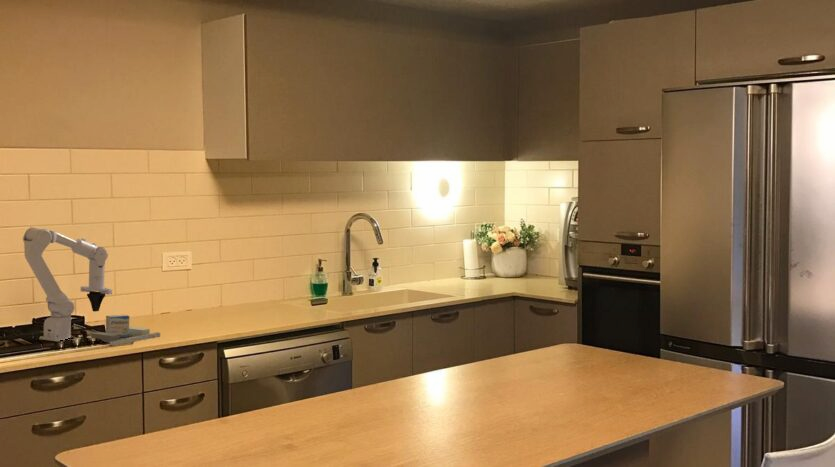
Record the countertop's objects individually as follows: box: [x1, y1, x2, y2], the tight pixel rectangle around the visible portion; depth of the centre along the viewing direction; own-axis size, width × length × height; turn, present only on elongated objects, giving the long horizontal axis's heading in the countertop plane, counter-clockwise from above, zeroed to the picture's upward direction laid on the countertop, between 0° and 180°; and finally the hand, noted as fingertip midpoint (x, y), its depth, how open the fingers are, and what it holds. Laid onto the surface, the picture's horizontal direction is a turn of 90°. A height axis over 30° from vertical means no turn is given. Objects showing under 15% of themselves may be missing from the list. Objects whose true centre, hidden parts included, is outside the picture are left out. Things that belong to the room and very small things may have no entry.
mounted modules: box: [90, 325, 151, 345], centre depth 355 cm, size 21×10×3 cm, turn 155°
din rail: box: [109, 332, 161, 347], centre depth 351 cm, size 26×2×2 cm, turn 155°
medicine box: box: [105, 314, 130, 339], centre depth 357 cm, size 8×4×9 cm, turn 127°
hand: (95, 311), depth 359 cm, fingers closed
